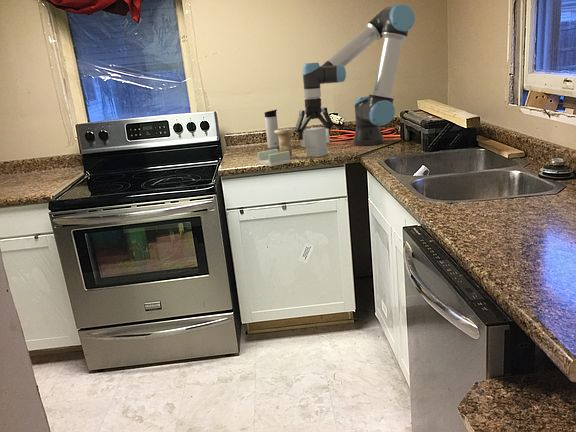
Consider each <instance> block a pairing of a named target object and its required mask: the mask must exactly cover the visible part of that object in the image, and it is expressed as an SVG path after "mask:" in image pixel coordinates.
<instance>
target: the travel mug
mask: <svg viewBox="0 0 576 432" xmlns="http://www.w3.org/2000/svg"><path fill="white" fill-rule="evenodd" d="M277 111H278V109H273V110H267V111H266V112H264V123H265V131H266V133H265V134H266V141H267V149H268V150H273V149H278V150H279V149H280V147H279V136H278V134H275V133H274V131H275V130H279V128H278V116H277Z"/></svg>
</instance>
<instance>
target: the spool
mask: <svg viewBox="0 0 576 432" xmlns="http://www.w3.org/2000/svg"><path fill="white" fill-rule="evenodd" d="M294 130H295V128H280V129H279V128H278V130H275V131H274V133H275V134H278V136H279V147H280V148H279V153H281V152H286V151H289V152H290V160H292V158H293V159H295V158H296V157H297V155H296V153H293V147H292V139H291V138H292V136H291V133H294V132H295V131H294Z"/></svg>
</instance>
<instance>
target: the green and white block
mask: <svg viewBox="0 0 576 432" xmlns="http://www.w3.org/2000/svg"><path fill="white" fill-rule="evenodd" d="M256 155H257V161H258V162H257V163H258V164H260V165H263V166H267V167H277V166H281V165H285V164H291V159H290V152H289V151H286V152H281V153H280V152H279V148H278V149H268V150H262V151H259V152H257V153H256Z"/></svg>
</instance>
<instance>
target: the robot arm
mask: <svg viewBox="0 0 576 432" xmlns="http://www.w3.org/2000/svg"><path fill="white" fill-rule="evenodd" d="M415 21H416V17H415V12H414V10H413V8H412V7H411V6H409V5H408V4H405V3H397V4H395V5H391V6H388V7H385V8H383V9H382V10H381V11H379V12H378V13H377V14H376V15H375V16H374V17H373V18H372V19H370V21H368V23H366V24H365V26H366V27H365V28H363V29H362V30H361V31H360V32H358V34H356V35H355V36H354V37H353V38H352V39H351V40H350V41H349V42H347V43H346V44H345V45H344V46H342V48H340V49H339V50H337V52H336V53H335V54H333V55H332V56H331V57H330V58H329V59H327V61H325V62H324V63H323V64H322V65H320V63H319V62H307V63H304V64H303V65H302V79H303V80H302V81H303V94H304V98H305V99H304V108H305V110H299V114H298V115H299V116H298V118H297V121H296V124H295V127H294V132H296V133H298V140H300V147H301V148H306V143H305V132H304V130H306V128H307V125H308V123H309V122H311V120H315V119H318V120H319V121H320V122H321V124H322V125H323V126H324V128H326V141H327V144H328V143H329V144H330V143H331V142H330V136H331V129H332V128H333V127H334V122H333V120H332V118H331V116H330V114H329V112H328V108H327V106H326V107H325V106H323V107H322V98H321V97H322V93H321V85H323V84H334V83H337V84H339V83H343V82H345V81H346V77H347V71H346V66H347V65H348V64H350V63H351V62H352V61H354V59H356V58H357V57H358V56H359V55H360V54H361V53H362V52H364V51H365V50H366V49H367V48H368V47H369V46H371V45H372V44H373V43H374V42H375V41H380V40H382V39H383V42H382V46H381V47H382V48H381V52H380V57H379V62H378V66H377V71H376V77H375V81H374V87H373V90H372V91H371V92H370V93H369V94H368V96H362V97H357V98H356V99H354V113H355V114H354V115H355V117H354V118H355V132H354V135H353V139H352V140H353V141H352V144H353V145H354V146H376V145H380V144H383V143H384V136H383V132H382V130H381V128H380V127H381V126H385V125H388V124H389V123H390V122H392V120H393V119H394V116H395V114H396V110H395V107H394V100H395V98H394V96H393V89H394V84H395V79H396V75H397V69H398V65H399V60H400V55H401V53H402V52H401V50H402V46H403V42H404V41H405V40H406V39H408V34H409V31H410V30H411V29H412V27H413V26H414V25H415Z"/></svg>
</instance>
